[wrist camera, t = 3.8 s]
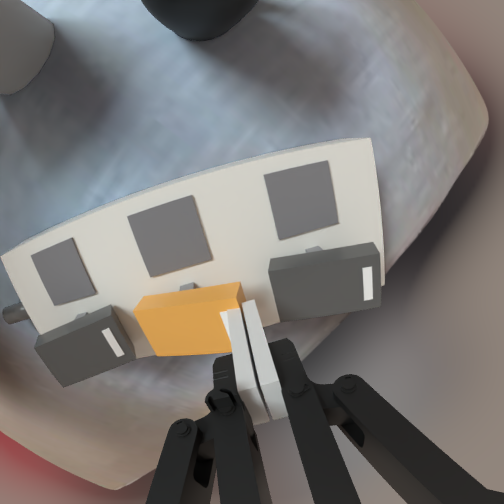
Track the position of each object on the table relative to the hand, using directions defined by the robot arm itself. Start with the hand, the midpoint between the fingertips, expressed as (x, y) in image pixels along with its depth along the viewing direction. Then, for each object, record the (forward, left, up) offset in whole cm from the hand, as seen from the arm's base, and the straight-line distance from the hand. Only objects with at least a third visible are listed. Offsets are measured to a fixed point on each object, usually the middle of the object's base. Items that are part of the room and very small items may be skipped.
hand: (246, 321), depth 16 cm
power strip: (-6, +3, -8) cm, 11 cm away
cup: (-14, +27, -8) cm, 31 cm away
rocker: (+6, 0, -1) cm, 6 cm away
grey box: (-12, 0, -1) cm, 12 cm away
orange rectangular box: (-3, 0, -1) cm, 4 cm away
